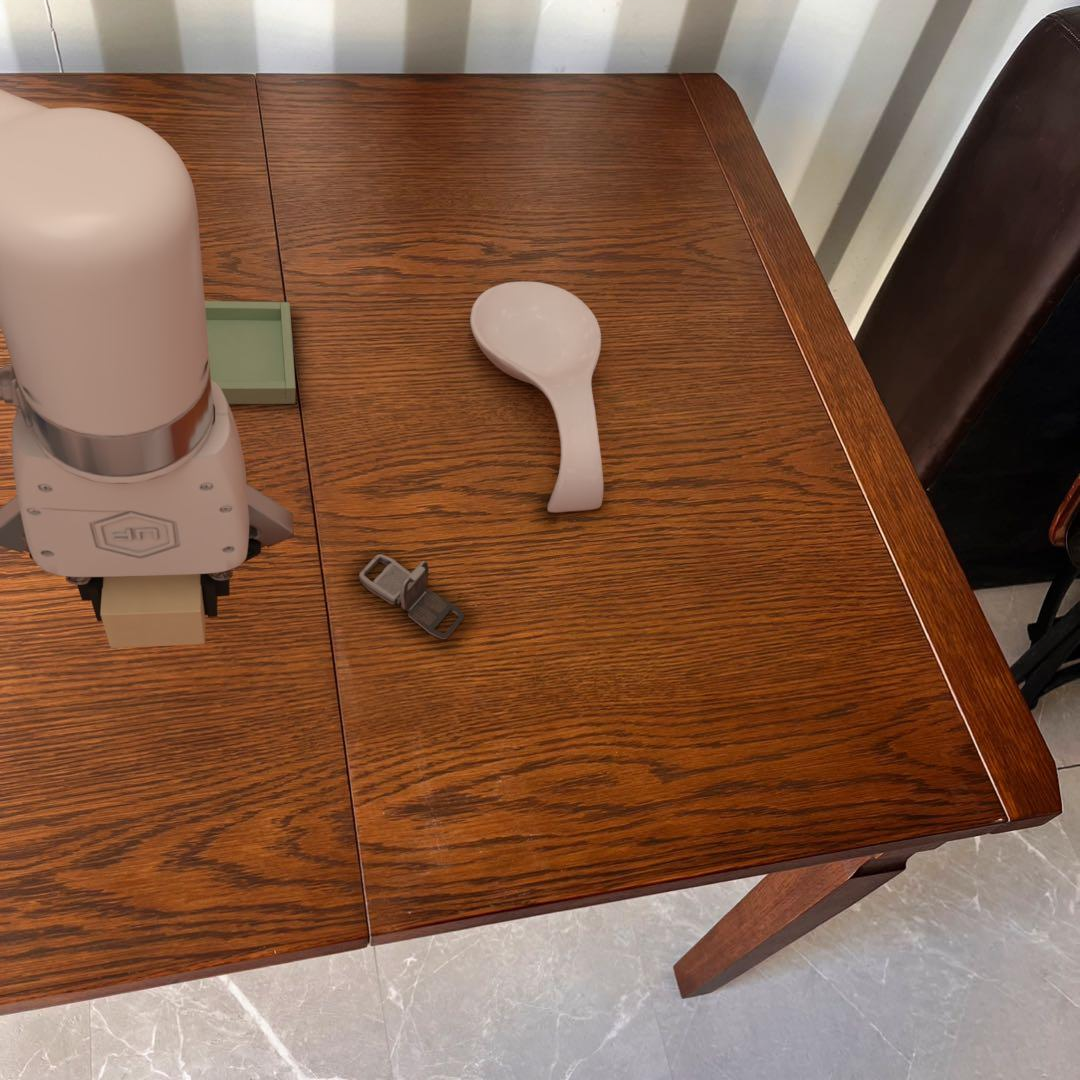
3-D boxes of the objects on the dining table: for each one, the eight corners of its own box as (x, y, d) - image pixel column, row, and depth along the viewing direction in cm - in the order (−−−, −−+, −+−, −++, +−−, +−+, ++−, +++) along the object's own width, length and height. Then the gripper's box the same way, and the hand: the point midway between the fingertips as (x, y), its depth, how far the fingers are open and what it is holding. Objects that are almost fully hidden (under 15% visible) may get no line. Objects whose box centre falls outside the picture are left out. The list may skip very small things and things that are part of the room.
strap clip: (354, 581, 84) (357, 553, 80) (378, 555, 85) (382, 527, 82) (443, 644, 83) (450, 618, 79) (466, 616, 84) (474, 590, 81)
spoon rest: (453, 307, 101) (464, 250, 95) (572, 302, 104) (590, 247, 98) (509, 521, 90) (525, 471, 84) (641, 508, 93) (666, 459, 87)
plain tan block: (109, 648, 60) (100, 614, 56) (115, 554, 63) (106, 517, 59) (205, 644, 61) (200, 611, 57) (206, 552, 64) (202, 515, 60)
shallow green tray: (188, 404, 89) (186, 388, 88) (187, 317, 94) (186, 300, 92) (295, 404, 92) (295, 388, 90) (289, 318, 96) (289, 301, 95)
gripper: (-116, 465, 42) (-13, 664, 58) (327, 464, 47) (315, 649, 62) (-89, 321, 46) (2, 543, 61) (319, 332, 50) (310, 537, 66)
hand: (159, 594), depth 61 cm, fingers closed on plain tan block, 5 cm apart
